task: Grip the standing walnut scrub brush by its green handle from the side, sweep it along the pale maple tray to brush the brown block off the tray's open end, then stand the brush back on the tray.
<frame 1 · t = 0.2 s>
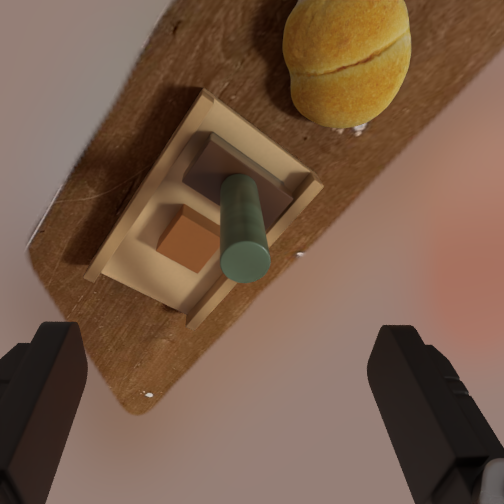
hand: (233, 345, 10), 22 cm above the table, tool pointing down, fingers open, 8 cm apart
brown block: (191, 233, 32), point 1 cm above the table, touching tray
bread roll: (339, 52, 27), on the table
tray: (198, 219, 33), on the table
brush: (237, 173, 30), point 1 cm above the table, touching tray
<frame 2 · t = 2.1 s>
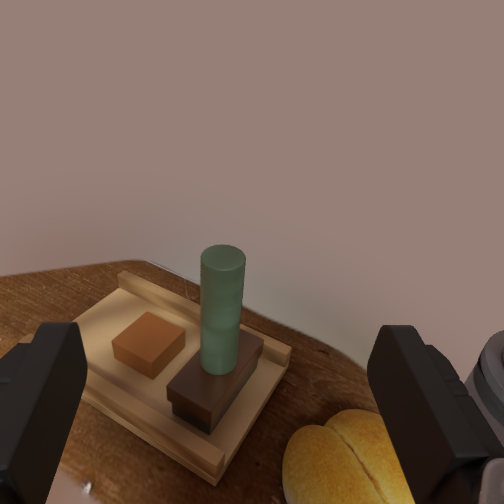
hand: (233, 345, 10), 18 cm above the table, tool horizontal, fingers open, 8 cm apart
brown block: (150, 352, 31), point 1 cm above the table, touching tray
bread roll: (350, 486, 25), on the table
tray: (160, 365, 32), on the table
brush: (217, 388, 29), point 1 cm above the table, touching tray
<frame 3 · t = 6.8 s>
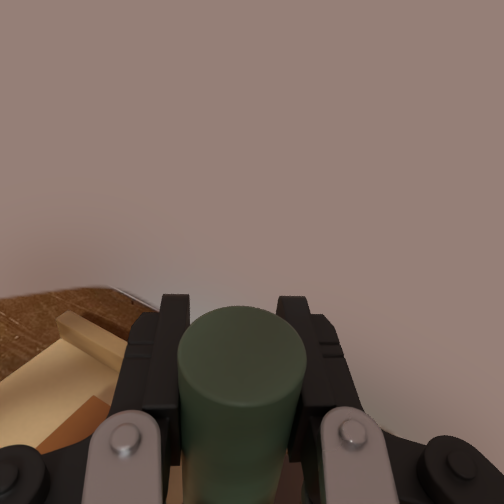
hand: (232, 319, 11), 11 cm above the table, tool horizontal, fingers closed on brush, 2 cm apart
brown block: (96, 476, 17), point 1 cm above the table, touching tray
tray: (116, 500, 17), on the table
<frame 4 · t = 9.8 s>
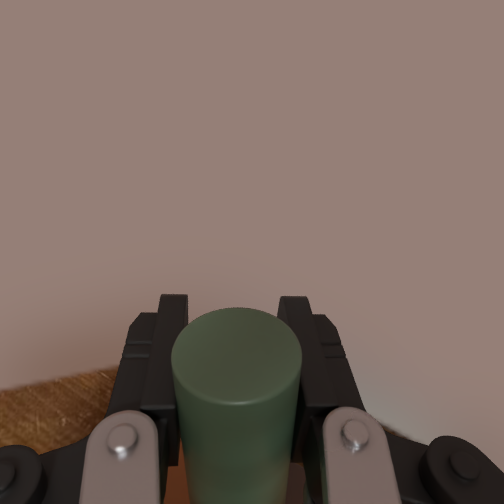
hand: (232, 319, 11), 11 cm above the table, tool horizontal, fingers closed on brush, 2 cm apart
when the fingers open (11 cm above the table, at t = 16.6 s): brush stays where it is, resting on tray.
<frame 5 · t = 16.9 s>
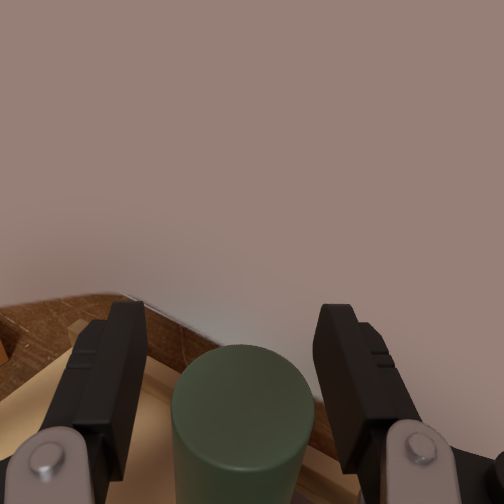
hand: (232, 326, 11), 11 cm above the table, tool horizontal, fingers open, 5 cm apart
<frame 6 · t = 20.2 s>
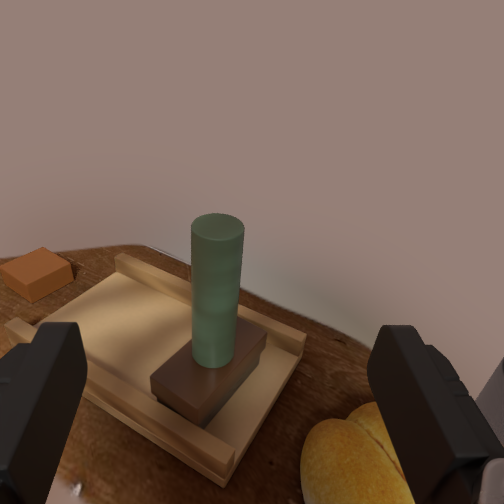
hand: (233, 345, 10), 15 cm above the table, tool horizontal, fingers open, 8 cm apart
brown block: (40, 282, 34), on the table
bread roll: (377, 488, 22), on the table
tray: (161, 354, 28), on the table
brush: (211, 385, 25), point 1 cm above the table, touching tray
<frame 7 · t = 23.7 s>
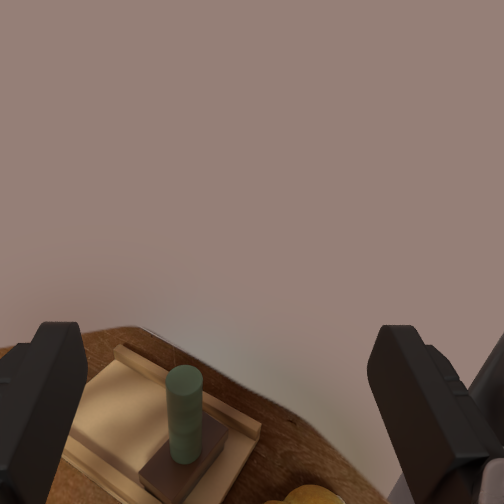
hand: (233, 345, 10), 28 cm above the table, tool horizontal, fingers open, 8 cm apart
tray: (149, 438, 37), on the table
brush: (186, 468, 34), point 1 cm above the table, touching tray
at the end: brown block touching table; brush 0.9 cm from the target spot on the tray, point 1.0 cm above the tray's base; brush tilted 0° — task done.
